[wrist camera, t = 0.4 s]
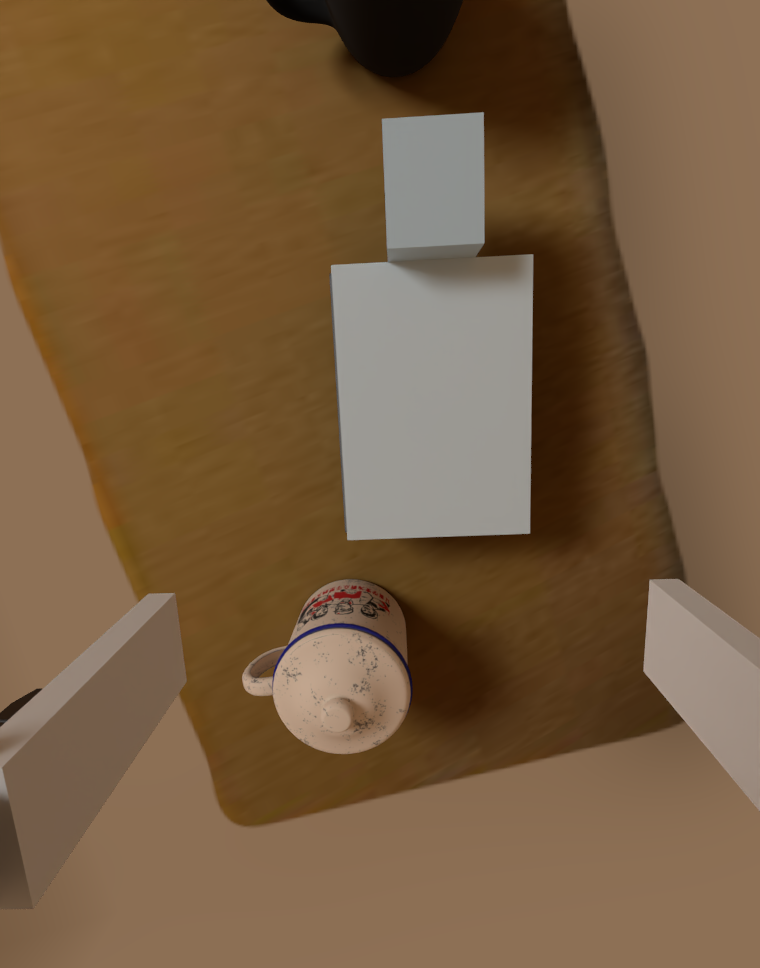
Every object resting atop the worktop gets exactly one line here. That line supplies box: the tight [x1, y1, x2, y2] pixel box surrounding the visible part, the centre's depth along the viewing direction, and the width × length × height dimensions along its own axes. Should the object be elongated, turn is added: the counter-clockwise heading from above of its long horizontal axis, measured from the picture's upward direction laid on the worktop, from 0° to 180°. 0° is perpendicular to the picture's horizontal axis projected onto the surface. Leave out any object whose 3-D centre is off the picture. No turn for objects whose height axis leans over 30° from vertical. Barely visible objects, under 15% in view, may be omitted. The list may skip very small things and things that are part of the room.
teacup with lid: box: [242, 579, 412, 754], centre depth 37 cm, size 12×9×12 cm
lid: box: [331, 112, 533, 540], centre depth 30 cm, size 23×12×5 cm, turn 3°
